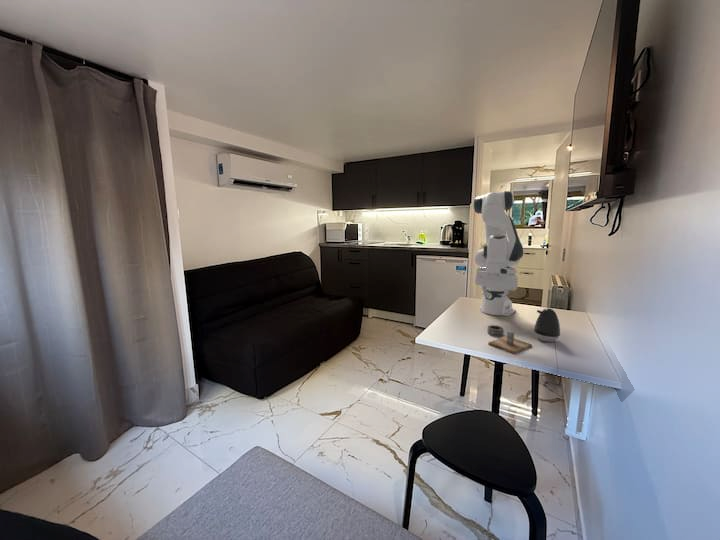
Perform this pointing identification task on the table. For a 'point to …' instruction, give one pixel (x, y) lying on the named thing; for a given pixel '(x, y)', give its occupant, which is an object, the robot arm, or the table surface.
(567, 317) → the table surface
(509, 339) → the piston stand
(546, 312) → the black rounded piece
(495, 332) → the ring
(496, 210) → the robot arm
